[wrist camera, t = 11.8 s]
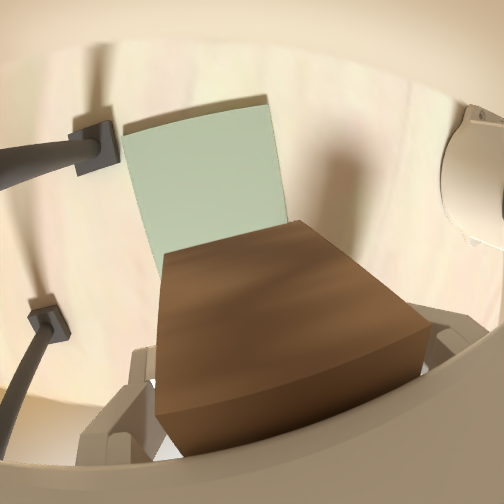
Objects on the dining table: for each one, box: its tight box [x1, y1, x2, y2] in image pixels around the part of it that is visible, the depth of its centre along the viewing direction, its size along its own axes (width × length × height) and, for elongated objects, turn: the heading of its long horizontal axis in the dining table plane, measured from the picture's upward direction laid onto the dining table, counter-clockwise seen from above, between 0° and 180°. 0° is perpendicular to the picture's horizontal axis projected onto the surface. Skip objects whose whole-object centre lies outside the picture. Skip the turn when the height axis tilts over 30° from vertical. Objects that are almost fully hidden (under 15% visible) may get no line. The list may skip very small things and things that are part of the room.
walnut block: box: [155, 220, 432, 457], centre depth 9 cm, size 5×5×7 cm
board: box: [121, 104, 288, 279], centre depth 26 cm, size 12×15×1 cm
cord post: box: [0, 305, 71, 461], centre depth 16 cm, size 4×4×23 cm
